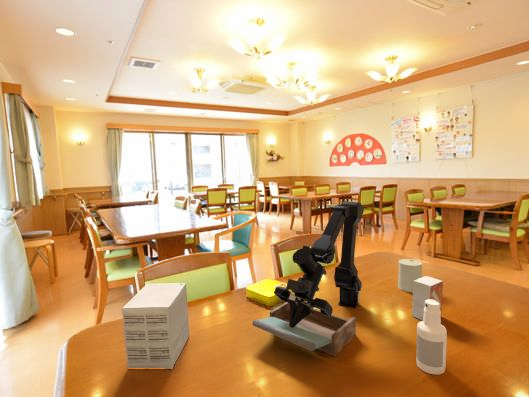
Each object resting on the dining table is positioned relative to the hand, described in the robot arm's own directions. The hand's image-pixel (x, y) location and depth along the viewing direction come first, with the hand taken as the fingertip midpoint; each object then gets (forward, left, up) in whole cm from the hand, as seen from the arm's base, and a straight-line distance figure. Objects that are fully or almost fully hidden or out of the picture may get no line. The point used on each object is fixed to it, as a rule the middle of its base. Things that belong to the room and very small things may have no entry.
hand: (290, 327), depth 92 cm
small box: (+37, +36, -7) cm, 52 cm away
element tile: (-22, +31, -7) cm, 39 cm away
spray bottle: (+37, +7, -7) cm, 38 cm away
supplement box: (-35, -17, -7) cm, 40 cm away
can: (+31, +60, -7) cm, 68 cm away
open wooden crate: (+3, +11, -7) cm, 13 cm away
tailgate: (+1, +4, -3) cm, 5 cm away
